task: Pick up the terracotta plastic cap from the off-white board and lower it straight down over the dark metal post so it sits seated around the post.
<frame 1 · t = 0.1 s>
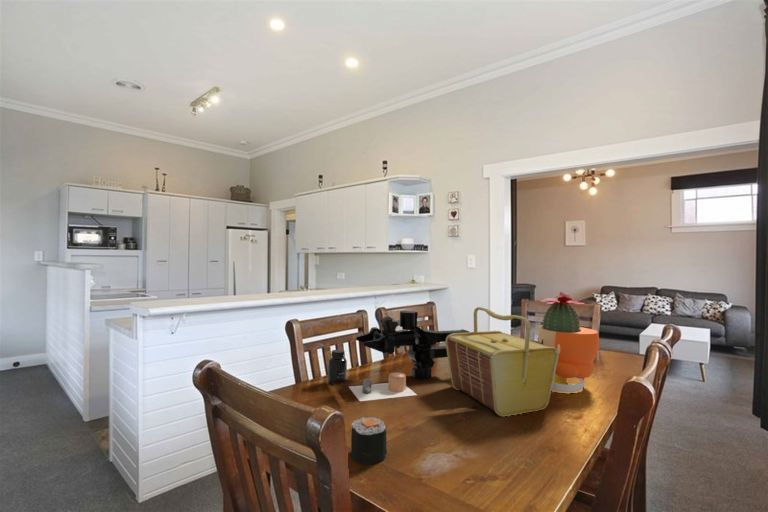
hand: (359, 341, 140), 17 cm above the table, tool horizontal, fingers open, 9 cm apart
supplement bottle: (336, 383, 143), on the table
terracotta cap: (397, 389, 134), point 1 cm above the table, touching off-white board
sushi: (368, 455, 92), on the table
off-white board: (382, 395, 132), on the table
potted cactus: (565, 386, 147), on the table
metal post: (366, 396, 130), resting on off-white board
picnic basket: (497, 400, 130), on the table
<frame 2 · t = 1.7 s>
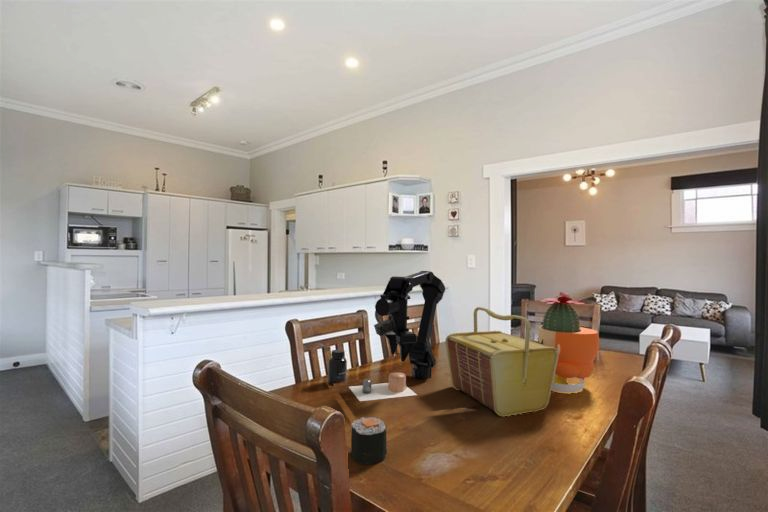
hand: (397, 357, 134), 12 cm above the table, tool pointing down, fingers open, 9 cm apart
nothing on the table moved.
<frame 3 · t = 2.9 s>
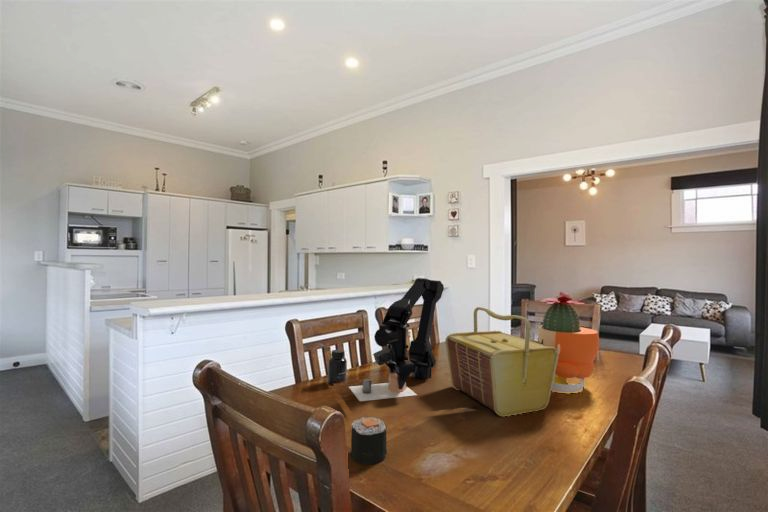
hand: (397, 386, 134), 3 cm above the table, tool pointing down, fingers closed on terracotta cap, 6 cm apart
terracotta cap: (397, 389, 134), point 1 cm above the table, touching gripper, off-white board
everything else where it was.
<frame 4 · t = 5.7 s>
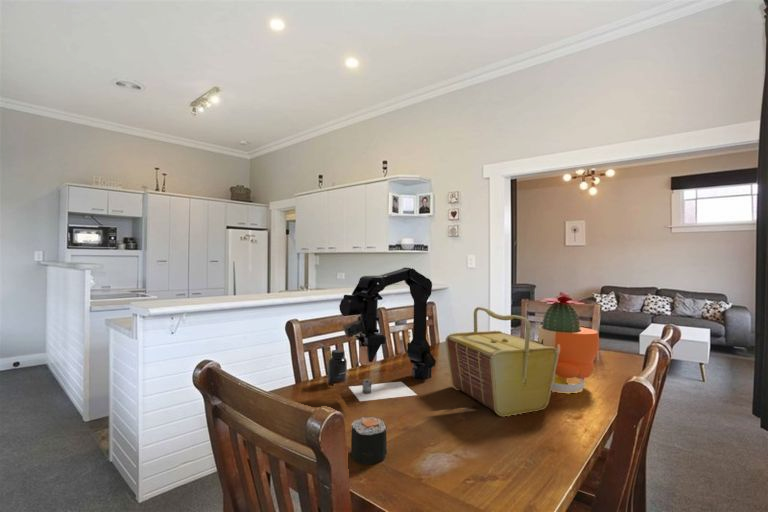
hand: (367, 359, 130), 12 cm above the table, tool pointing down, fingers closed on terracotta cap, 6 cm apart
terracotta cap: (367, 362, 130), point 12 cm above the table, touching gripper
everything else where it was.
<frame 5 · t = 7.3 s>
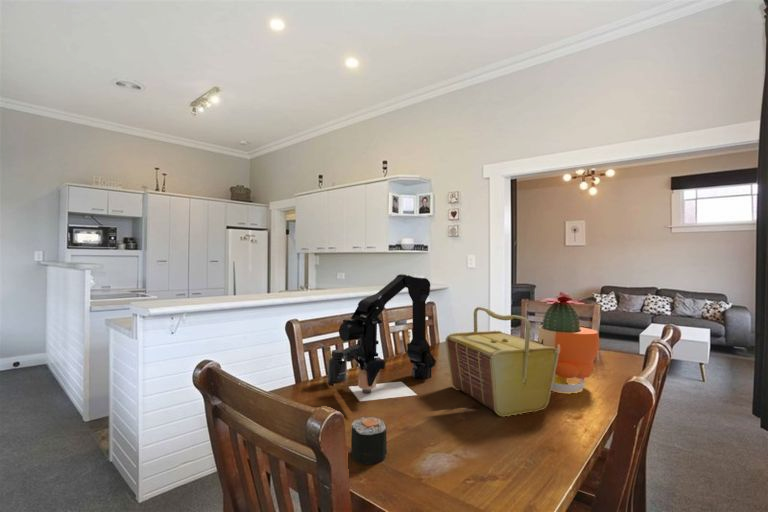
hand: (367, 383, 130), 4 cm above the table, tool pointing down, fingers closed on terracotta cap, 6 cm apart
terracotta cap: (367, 386, 130), point 3 cm above the table, touching gripper
everything else where it was.
when the fingers open (4 cm above the table, at t = 8.4 s): terracotta cap drops 1 cm, resting on off-white board.
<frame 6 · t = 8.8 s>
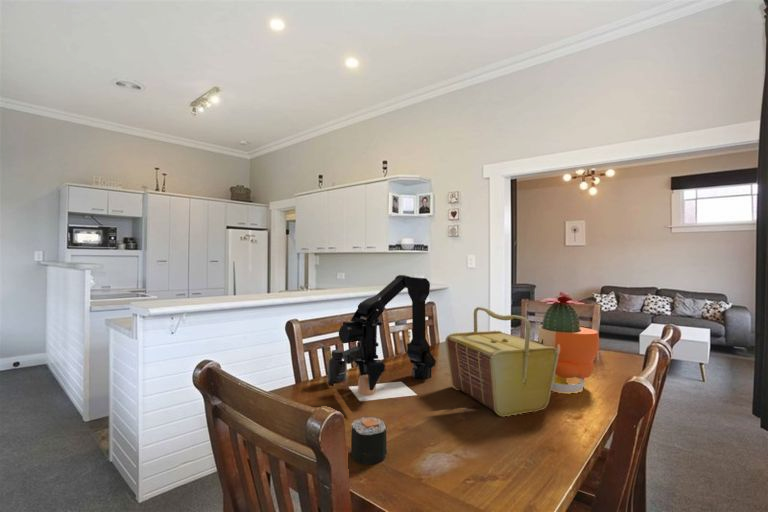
hand: (367, 385, 130), 4 cm above the table, tool pointing down, fingers open, 9 cm apart
terracotta cap: (366, 392, 130), point 1 cm above the table, touching off-white board
everything else where it was.
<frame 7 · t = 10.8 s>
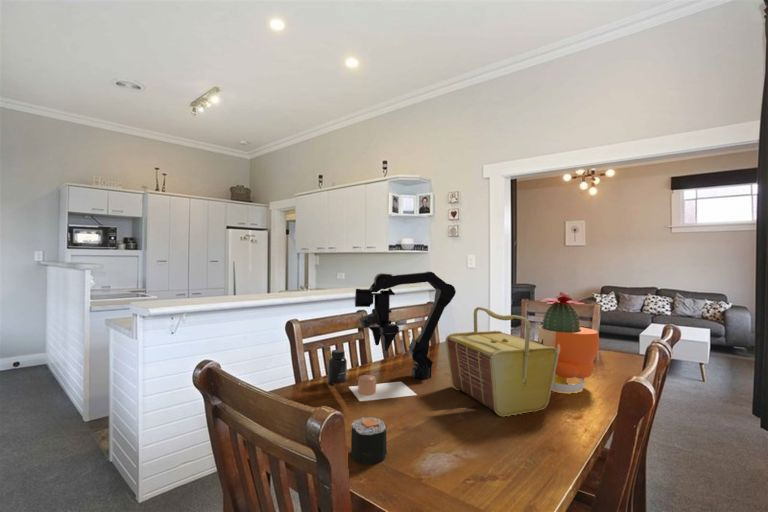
hand: (381, 347, 146), 13 cm above the table, tool pointing down, fingers open, 9 cm apart
nothing on the table moved.
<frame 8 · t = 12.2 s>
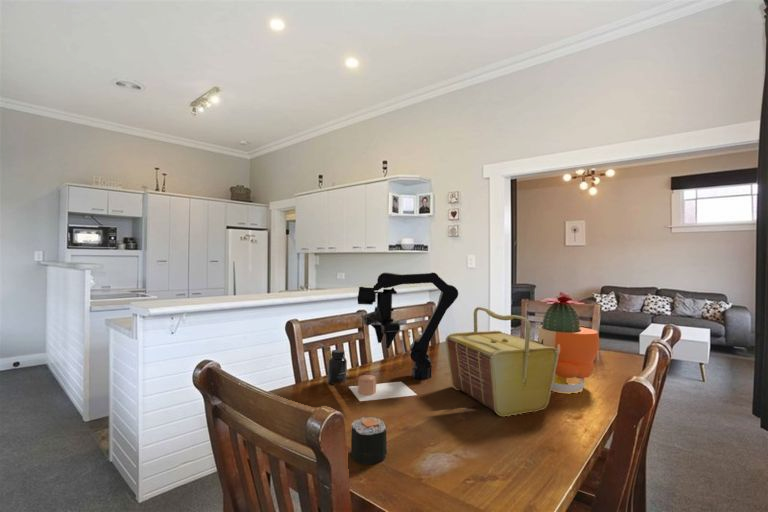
hand: (383, 345, 149), 13 cm above the table, tool pointing down, fingers open, 9 cm apart
nothing on the table moved.
at the end: terracotta cap 0.0 cm from the metal post (horizontally); terracotta cap point 1.5 cm above the table; terracotta cap tilted 0° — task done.
